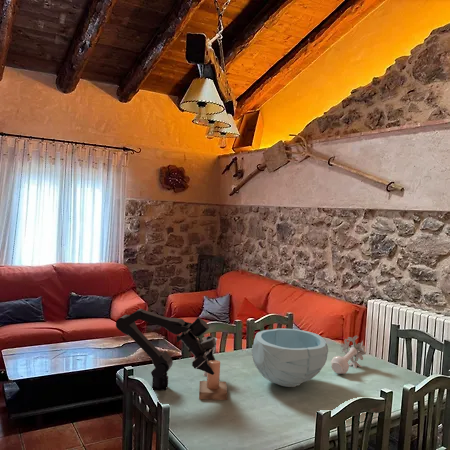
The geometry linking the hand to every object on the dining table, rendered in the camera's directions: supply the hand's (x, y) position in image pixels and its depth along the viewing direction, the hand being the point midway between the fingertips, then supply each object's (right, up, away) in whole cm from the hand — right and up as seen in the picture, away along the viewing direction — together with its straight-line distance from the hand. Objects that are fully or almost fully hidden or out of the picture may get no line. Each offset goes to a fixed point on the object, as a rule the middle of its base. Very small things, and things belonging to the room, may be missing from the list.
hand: (215, 370), depth 191 cm
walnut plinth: (-1, -10, +1) cm, 10 cm away
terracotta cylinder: (-1, -7, 0) cm, 8 cm away
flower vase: (+69, -12, +38) cm, 80 cm away
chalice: (-4, -10, +21) cm, 24 cm away
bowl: (+34, -12, +15) cm, 39 cm away
